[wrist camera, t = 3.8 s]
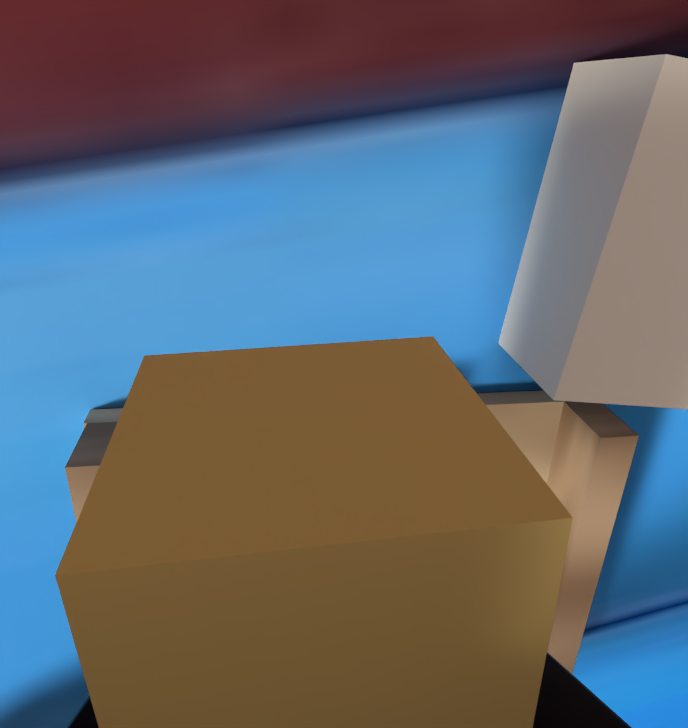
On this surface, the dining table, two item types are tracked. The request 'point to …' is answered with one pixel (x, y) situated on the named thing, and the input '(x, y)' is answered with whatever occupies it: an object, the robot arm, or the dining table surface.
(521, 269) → the cream bar
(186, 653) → the ochre bar
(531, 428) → the comb board
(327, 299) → the dining table surface
